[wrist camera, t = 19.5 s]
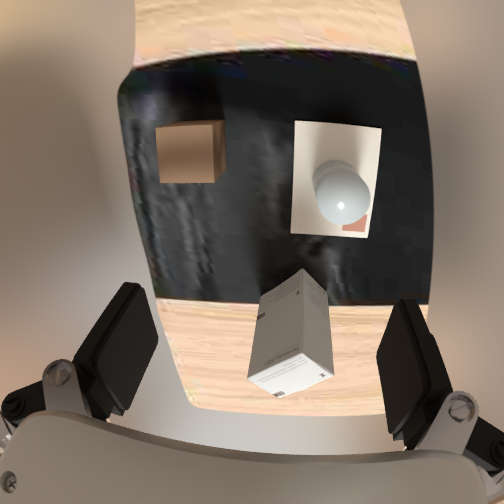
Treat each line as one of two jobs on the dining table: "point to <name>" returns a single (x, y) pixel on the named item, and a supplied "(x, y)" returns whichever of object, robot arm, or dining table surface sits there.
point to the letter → (320, 151)
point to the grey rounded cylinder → (340, 192)
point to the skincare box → (292, 337)
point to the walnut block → (191, 151)
